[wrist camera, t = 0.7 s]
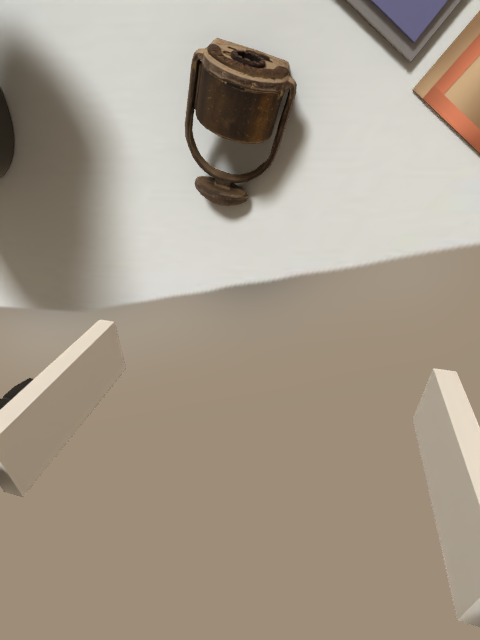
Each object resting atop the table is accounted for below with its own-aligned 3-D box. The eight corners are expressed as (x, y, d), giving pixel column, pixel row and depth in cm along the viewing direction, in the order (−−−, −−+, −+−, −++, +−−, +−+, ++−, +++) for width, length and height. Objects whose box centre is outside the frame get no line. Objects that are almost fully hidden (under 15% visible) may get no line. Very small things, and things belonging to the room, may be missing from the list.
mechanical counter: (338, 105, 24) (223, -18, 20) (228, 240, 30) (125, 164, 26) (321, 98, 29) (229, 2, 26) (232, 213, 36) (148, 148, 32)
